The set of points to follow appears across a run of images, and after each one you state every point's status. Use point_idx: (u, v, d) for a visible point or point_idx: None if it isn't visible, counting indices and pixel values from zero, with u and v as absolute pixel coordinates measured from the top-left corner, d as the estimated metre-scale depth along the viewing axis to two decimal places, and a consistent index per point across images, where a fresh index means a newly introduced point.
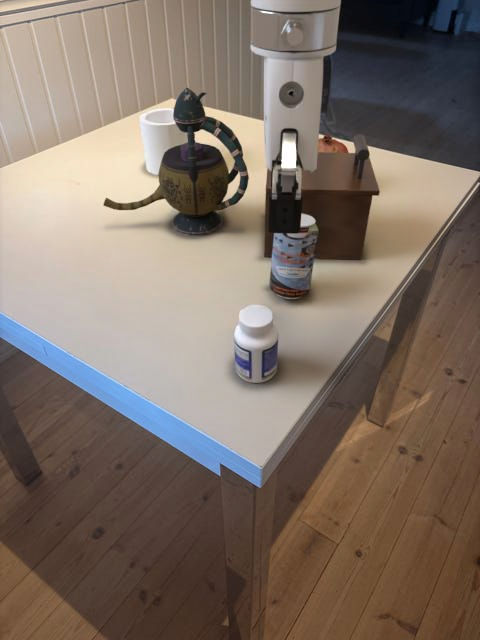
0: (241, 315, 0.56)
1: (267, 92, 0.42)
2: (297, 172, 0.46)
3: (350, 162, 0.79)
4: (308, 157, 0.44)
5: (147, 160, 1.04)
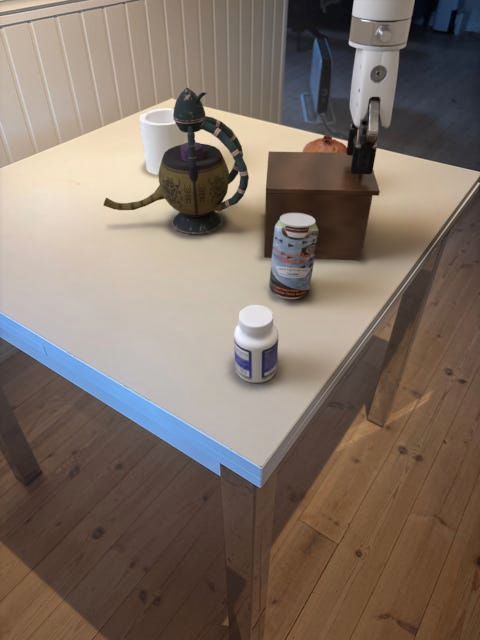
0: (241, 315, 0.56)
1: (362, 72, 0.64)
2: None
3: (350, 162, 0.79)
4: (385, 117, 0.66)
5: (147, 160, 1.04)
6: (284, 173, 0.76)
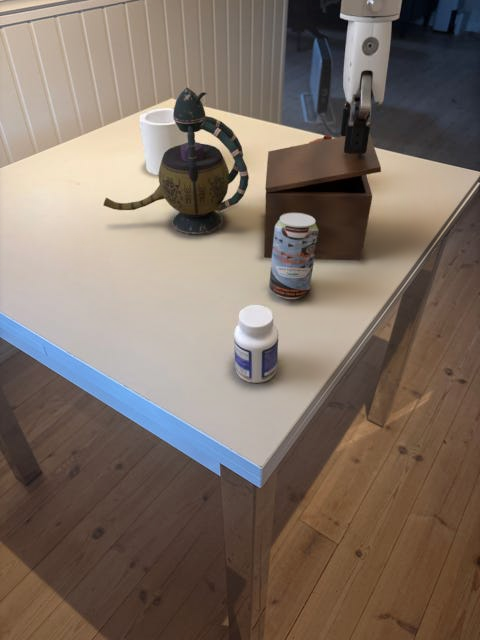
0: (241, 315, 0.56)
1: (353, 45, 0.62)
2: None
3: None
4: (378, 92, 0.64)
5: (147, 160, 1.04)
6: (283, 169, 0.76)
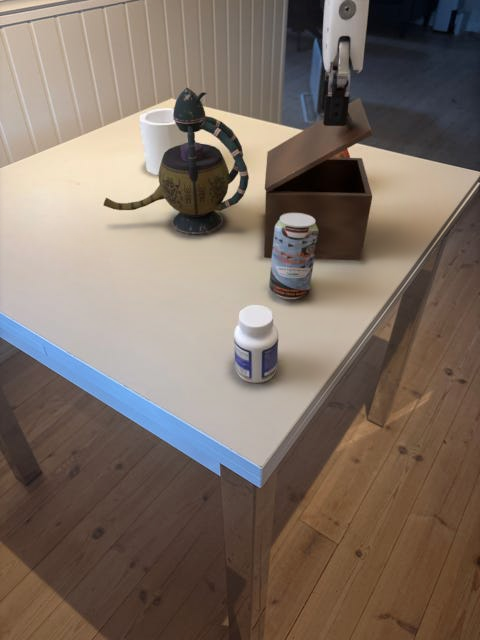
0: (241, 315, 0.56)
1: (330, 9, 0.59)
2: None
3: None
4: (357, 59, 0.62)
5: (147, 160, 1.04)
6: (280, 164, 0.75)
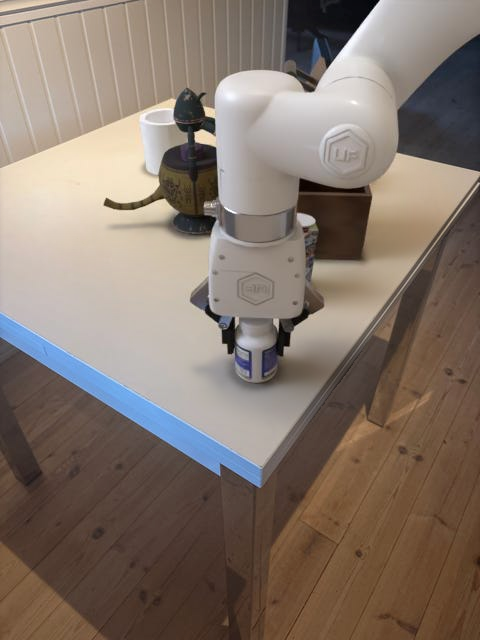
0: None
1: None
2: None
3: (308, 85, 0.72)
4: None
5: (147, 160, 1.04)
6: None
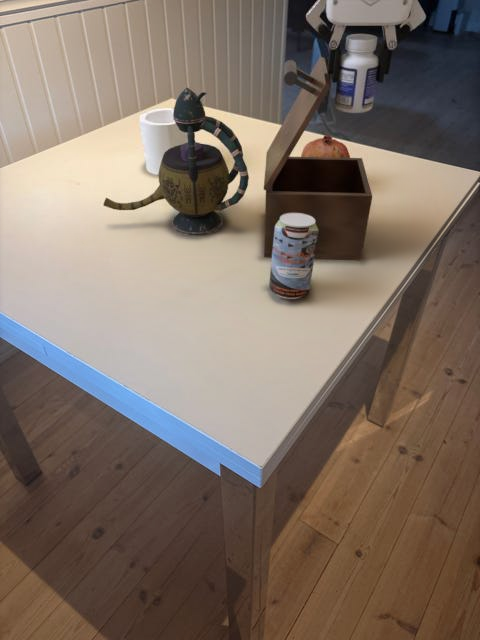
0: (349, 37, 0.63)
1: None
2: (335, 26, 0.62)
3: (309, 85, 0.72)
4: (327, 5, 0.60)
5: (147, 160, 1.04)
6: (273, 159, 0.75)
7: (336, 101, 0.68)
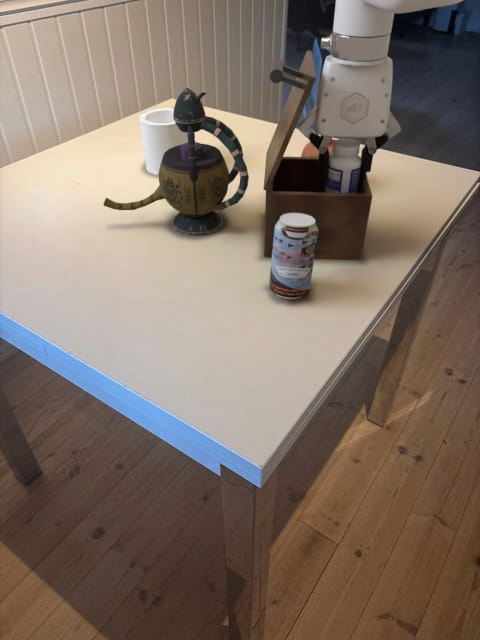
0: (335, 143, 0.74)
1: None
2: (323, 136, 0.72)
3: (298, 80, 0.71)
4: (316, 121, 0.70)
5: (147, 160, 1.04)
6: (271, 158, 0.75)
7: None
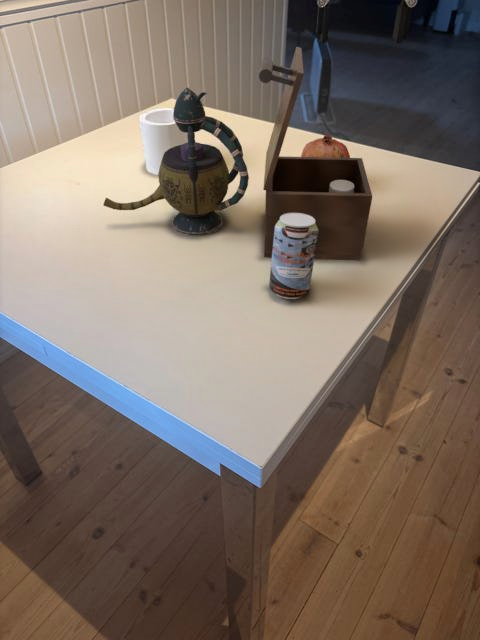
0: (331, 185, 0.78)
1: None
2: None
3: (289, 77, 0.71)
4: None
5: (147, 160, 1.04)
6: (269, 158, 0.75)
7: None
